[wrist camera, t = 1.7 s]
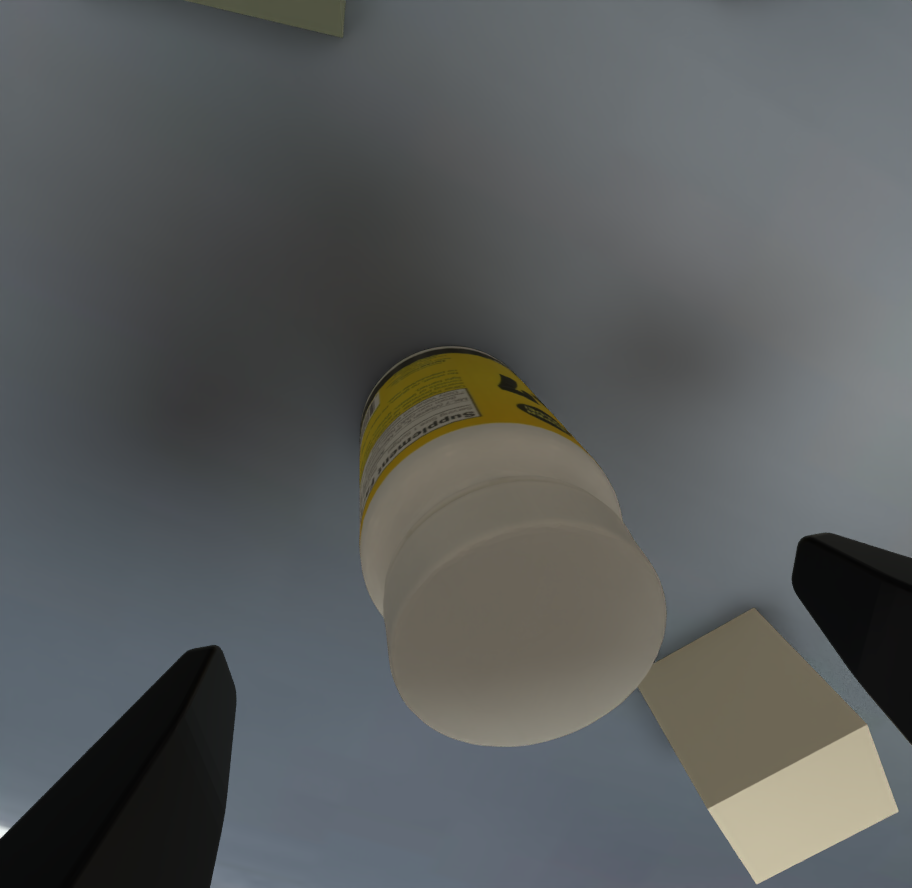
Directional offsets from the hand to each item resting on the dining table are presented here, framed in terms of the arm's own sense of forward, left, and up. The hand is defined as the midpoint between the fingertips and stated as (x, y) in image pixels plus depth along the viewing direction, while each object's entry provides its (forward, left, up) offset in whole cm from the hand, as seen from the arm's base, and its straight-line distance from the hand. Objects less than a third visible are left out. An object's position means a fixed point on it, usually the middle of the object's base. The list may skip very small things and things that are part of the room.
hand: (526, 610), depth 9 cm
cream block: (-9, +12, -8) cm, 17 cm away
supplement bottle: (0, 0, -8) cm, 8 cm away
